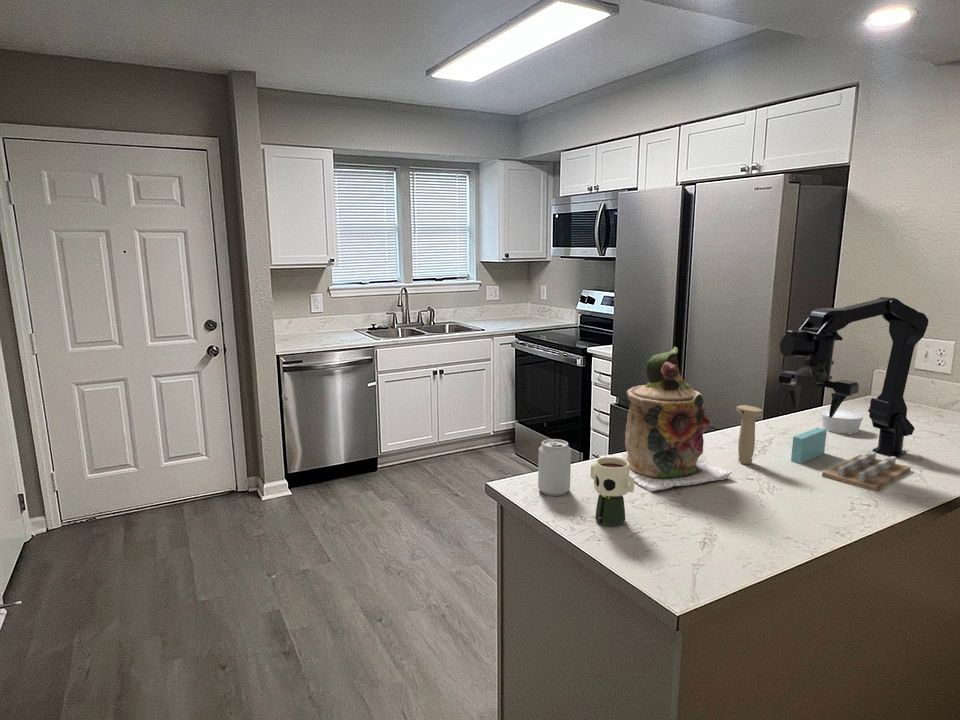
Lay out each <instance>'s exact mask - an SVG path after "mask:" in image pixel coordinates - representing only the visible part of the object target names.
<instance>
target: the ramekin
mask: <svg viewBox="0 0 960 720" xmlns="http://www.w3.org/2000/svg"><path fill="white" fill-rule="evenodd" d="M829 412H830V409H826V410H823V411H821V412H820V416H821V420H822V427H823V429H824V428H825V429H827V430H829V431H828V432H830V431H833V432H832V433H834V432H839V433H854V434H857V433H858V432H859V429H860V427H861V425H862V421H863V419H864V416H863V415H861V414H860V413H857V412H854V411H848V410H843V409H842V410H841V409H837V411H836V412H835V414H834V415H833V417H831V418H830V417H829ZM839 433H838V434H839Z"/></svg>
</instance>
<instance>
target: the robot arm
mask: <svg viewBox="0 0 960 720" xmlns="http://www.w3.org/2000/svg"><path fill="white" fill-rule="evenodd" d="M810 312H811V313H810V314H809V316H808V317H807V319H806V320H805V321H804V322H803V324H802V325H801V326H800V327H799V329H798V330H797V331H796V330H787V331H786V334H785V335H784V336H783V337H782V338H781V341H779V349H780V353H781V354H782V355H783V356H784V357H807V359H804V364H803V366H802V367H801V368H800V369H798V370H797V371H794V370H784V371H781V372H779V373H778V375H777V379H776V380H777V381H776V382H778V383H781V386H782V387H785V388H786V389H787V391H788V394H789V396H790V399H791V400H790V401H791V403H792V408H793V410H795V411H797V410H798V409H799V408H798V407H799V403H800V397H801V393H802V392H801V391H802V387H807V388H811V389H812V388H815V387H816V386H818V387H823V388H827V389H832V390H833V391H834V392H832V393H831V394H830V395H831V398H832V399H831V402H830V408H829V410H830V412H829V417H830V418H831V417H833V415H834V414H835V412H836V411H837V410H839V407H840V405H841V404H842V403H843V402H844V400H845V399H846V398H847V397H849V396H850V397H851V396H852V395H856V394H858V393H859V389H860V386H859V384H858V382H857V381H852V380H847V379H841V380H836V381H833V380H832V379H833V378H832V377H833V376H832V375H831V371H832V365H835V363H834V361H835V360H833V356H834V349H835V341H843V340H844V339H843V337H842V335H840V334H839V333H838V331H840V330H842V329H844V328H846V327H847V326H848V325H849V324H851V323H854V322H855V323H856V322H859V321H863V320H867V319H870V318H874V317H878V316H882V318H883V319H884V320H885V321H886V322H888V324H889V325H888V333H889V336H890V339H891V341H892V343H891V349H890V354H889V359H888V363H887V368H886V371H885V372H886V373H885V378H884V380H883V385H882V389H881V390H882V391H881V393H880V394H879V395H878V396H877V397H876V398H874V397H871V399H870V404H869V408H868V410H867V412H868V413H869V418H870V420H871V422H872V427H873V428H874V429H879V432H878V433H879V434H878V444H877V447H874V448H873V449H872V451H871V452H876V453H879V454H884V455H887V456H890V457H891V456H894V457H896V458H898V457H901V456H903V455H905V454H907V453H908V451H907V450H904V449H903V447H904V439H905V437H908V436H912V435H913V433H914V431H915V426H914V425H913V424H912V423H911V421H910V420H909V419H908V418H907V415H908V407H907V404H906V401H905V398H904V394H905V390H906V385H907V381H908V376H909V371H910V368H911V363H912V358H913V356H914V355H913V354H914V351H915V350H914V349H915V346H916V345H917V344H918V343H919V341H921V340H922V339H923V337H924V335H925V333H926V331H927V328H928V326H929V318H928V317H927V315H926V314H925V313H923V312H920V311H918V310H916V309H914V308H912V307H911V306H909V305H907V304H904V303H903V302H902V301H900V300H899V299H897V298H896V297H890V296H889V297H888V296H882V297H878V298H876V299H873V300H867V301H865V302H861V303H856V304H852V305H847V306H844V307H825V308H824V307H823V308H815V309H813V310H812V311H810Z"/></svg>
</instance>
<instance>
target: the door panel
mask: <svg viewBox="0 0 960 720" xmlns="http://www.w3.org/2000/svg"><path fill="white" fill-rule="evenodd" d="M827 432H828V431H827V429H824V428H822V427H815V428H813V429H810V430H807V431H805V432H802V433H798V434H796V435H794V436H793V437H792V446H791V456H790V458H791V459H790V462H792V463H796V464H803V463H804V462H807V461H809V460H812V459H815V458H817V457H819V456H821V455H822V454H823V453H824V454H825V450H826V442H827V441H826V440H827ZM820 454H821V455H820ZM824 454H823V455H824ZM818 455H819V456H818ZM816 456H817V457H816Z"/></svg>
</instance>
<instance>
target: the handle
mask: <svg viewBox="0 0 960 720" xmlns="http://www.w3.org/2000/svg"><path fill="white" fill-rule="evenodd" d="M735 411H736V413H738V414H739V415H740V416H741V421H740V430H739V436H738V443H737V444H738V445H737V446H738V447H737V448H738V449H737V452H738V462H739V463H740V464H743V465H749V464H750V465H751V464H752V462H753V456H754V452H755V447H756V446H755V443H756V420H757V417H760V416H762V415H763V409H761V408H759V407H757V406H752V405H744V404H742V405H737V406H736V408H735Z"/></svg>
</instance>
